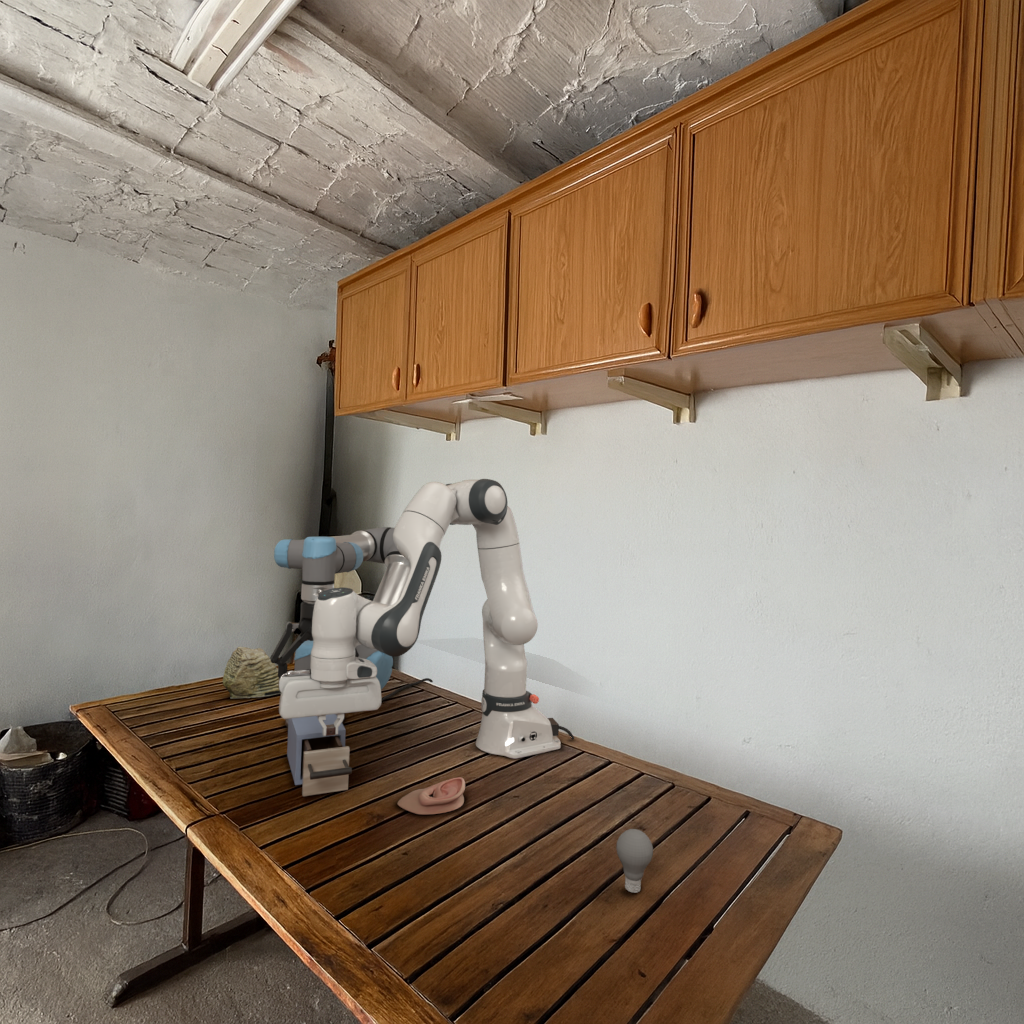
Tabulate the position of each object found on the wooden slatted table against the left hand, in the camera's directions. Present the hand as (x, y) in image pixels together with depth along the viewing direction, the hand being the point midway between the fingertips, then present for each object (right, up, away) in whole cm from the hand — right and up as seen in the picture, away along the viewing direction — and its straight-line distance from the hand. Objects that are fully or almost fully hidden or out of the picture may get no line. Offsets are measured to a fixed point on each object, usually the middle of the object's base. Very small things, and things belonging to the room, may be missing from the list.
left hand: (314, 689), depth 152 cm
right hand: (+10, -3, -22) cm, 24 cm away
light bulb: (+68, -21, -47) cm, 85 cm away
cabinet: (+1, -17, -4) cm, 18 cm away
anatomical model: (+31, -19, -19) cm, 41 cm away
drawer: (+6, -16, -14) cm, 23 cm away
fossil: (-33, -15, +46) cm, 58 cm away
